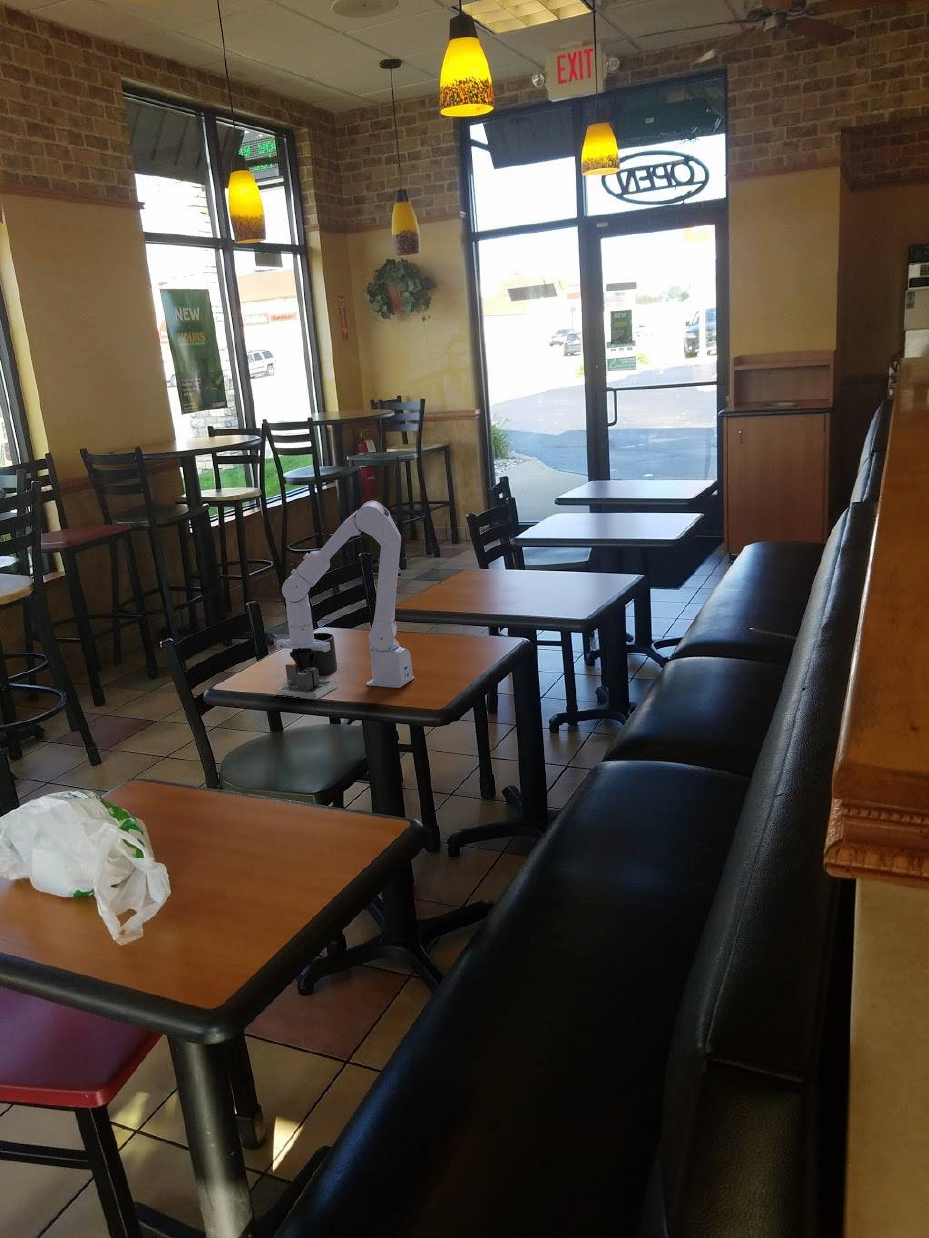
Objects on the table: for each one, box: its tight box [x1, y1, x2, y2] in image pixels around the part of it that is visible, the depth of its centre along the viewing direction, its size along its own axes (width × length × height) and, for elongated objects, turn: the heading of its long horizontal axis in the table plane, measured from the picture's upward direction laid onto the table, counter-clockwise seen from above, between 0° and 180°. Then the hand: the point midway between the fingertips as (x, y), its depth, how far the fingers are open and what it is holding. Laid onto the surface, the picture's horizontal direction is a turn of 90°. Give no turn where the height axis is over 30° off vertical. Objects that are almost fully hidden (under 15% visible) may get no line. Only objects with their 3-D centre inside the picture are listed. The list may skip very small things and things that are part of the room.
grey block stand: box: [274, 667, 338, 700], centre depth 232 cm, size 12×9×6 cm
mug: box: [312, 632, 338, 677], centre depth 249 cm, size 9×12×9 cm
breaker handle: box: [284, 661, 300, 682], centre depth 237 cm, size 3×2×4 cm
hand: (306, 677), depth 235 cm, fingers closed
